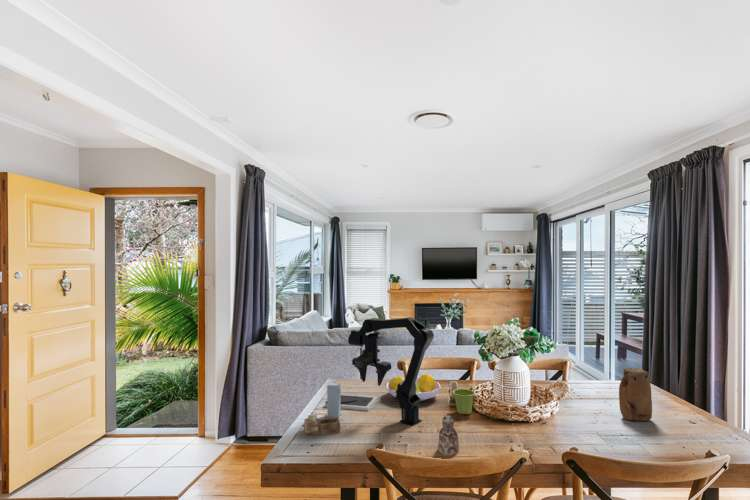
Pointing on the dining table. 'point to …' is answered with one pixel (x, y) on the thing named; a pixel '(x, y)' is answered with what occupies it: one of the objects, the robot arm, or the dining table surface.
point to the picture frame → (357, 402)
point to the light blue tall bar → (333, 400)
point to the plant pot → (464, 400)
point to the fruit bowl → (417, 386)
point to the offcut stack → (311, 424)
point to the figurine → (448, 437)
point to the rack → (326, 426)
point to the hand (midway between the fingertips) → (371, 383)
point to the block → (635, 395)
